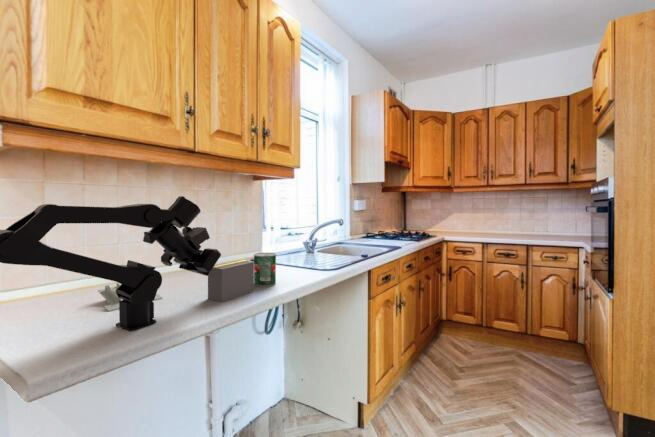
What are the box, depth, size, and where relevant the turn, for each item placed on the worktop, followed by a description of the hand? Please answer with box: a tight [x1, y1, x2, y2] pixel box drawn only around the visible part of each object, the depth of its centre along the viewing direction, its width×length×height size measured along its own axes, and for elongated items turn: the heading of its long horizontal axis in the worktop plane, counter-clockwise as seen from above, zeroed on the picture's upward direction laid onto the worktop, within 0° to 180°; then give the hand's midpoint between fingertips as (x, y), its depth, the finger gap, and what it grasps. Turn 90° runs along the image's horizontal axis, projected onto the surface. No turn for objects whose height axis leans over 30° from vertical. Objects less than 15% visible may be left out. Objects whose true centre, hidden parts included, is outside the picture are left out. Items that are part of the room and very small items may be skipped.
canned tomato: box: [253, 252, 277, 288], centre depth 120 cm, size 8×8×11 cm
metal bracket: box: [97, 282, 164, 313], centre depth 98 cm, size 14×6×15 cm
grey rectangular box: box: [207, 259, 255, 303], centre depth 106 cm, size 14×6×10 cm, turn 152°
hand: (207, 274), depth 96 cm, fingers closed
